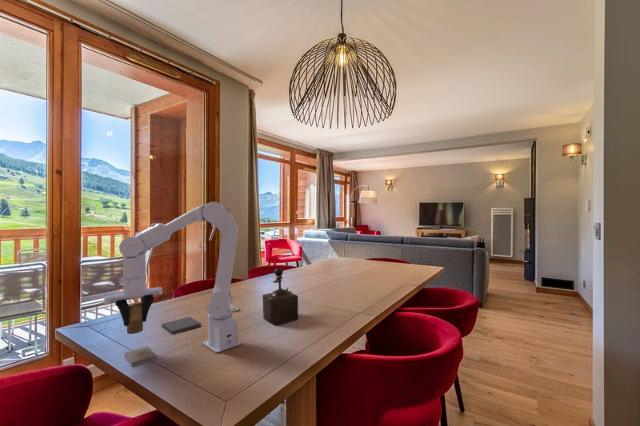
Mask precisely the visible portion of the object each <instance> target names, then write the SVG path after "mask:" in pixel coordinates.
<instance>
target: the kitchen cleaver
mask: <svg viewBox="0 0 640 426" xmlns="http://www.w3.org/2000/svg"><path fill="white" fill-rule="evenodd" d="M229 308H230V309H231V311H232V313H235V312H236V313H237V312H239V311H240V310H241V309H240V307H237V306H235V305H234V304H233V302H231V304H230V306H229Z"/></svg>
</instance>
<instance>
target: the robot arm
mask: <svg viewBox="0 0 640 426" xmlns="http://www.w3.org/2000/svg"><path fill="white" fill-rule="evenodd" d="M195 222H208V223H209V224H211V225H212V226H215V227H216V228H217V229H218V230H219V232H220V233H221V234H222V236H221V241H220V243H221V244H220V248H219V254H218V255H219V257H218V263H217V268H216V276H215V280H214V281H215V282H214V287H213V291H212V295H211V298H210V300H209V302H208V303H207V306H206V311H207V340H205V341H202V344H203V345H204V346H206V347H208V349H210V350H212V351H213V352H215V353H216V354H217V353H220V352H224V351H226V350H229V349H231V348H234V347H237V346H240V345H241V342H240V341H239V331H238V329H239V326H238V323H237V321H236V320H235V319H234V317H233V312H232V311H231V309H230V308H229V306H230V304H231V303H233V297H232V294H231V287H232V286H231V283H232V278H233V277H232V276H233V270H234V269H233V268H234V264H235V263H234V262H235V256H236V251H237V245H238V238H239V226H238V224H237V223H236V220H235V218H234V216H233V214H232V212H231V210H230V209H229V208H228V207H227V206H226V204H224V203H221V202H217V201H210V202H208V203H206V204H202V205H200V206H197V207H195V208H193V209H190V210H189V211H188V212H186V213H184V214H182V215H180V216H179V217H176V218H174V219H173V220H171V221H169V222H168V223H166V224H164V223H162V222H158V223H155V222H153V223H152V224H150V226H149V227H147V229H145V230H142V231H137V232H135V233H134V235H135V236H127V237H125V238H124V239H122V240H121V242H120V243H119V247H118V249H119V252H120V254H121V255H122V280H123V281H122V283H123V284H122V292H119V293H115V294H110V295H106V296H103V297H104V299H103V301H104V302H103V303H104V305H110V304H114V303H115V306H116V307H117V310H119V313H120V315H121V318H122V323H123V326H124V327H127V326H128V306H129V304H130V303H128V301H129V300H135V299H140V302H142V303H143V323H145V322H147V318H148V313H149V311H150V309H151V306H152V304H153V303H154V301H155V297H154V296H156V295H158V296H159V295H163V287H161V286H159V287H152V288H151V287H150V288H147V275H146V274H147V267H146V266H147V265H146V264H147V263H146V262H147V261H146V253H147V252H148V251H149V250H152V249H153V248H155V247H157V246H159V245H161V244H163V243H165V242H166V241H169V240H170V239H171V236H172V234H173V233H175V232H177V231H178V230H179V231H180V230H181V229H183V228H185V227H187V226H189V225H191V224H194V223H195Z"/></svg>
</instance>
